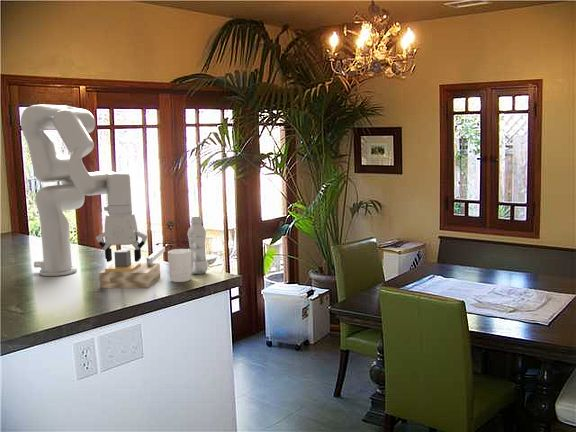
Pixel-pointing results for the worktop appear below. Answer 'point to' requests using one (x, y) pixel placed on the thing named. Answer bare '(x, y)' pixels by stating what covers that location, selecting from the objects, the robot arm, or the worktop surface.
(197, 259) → the plastic bottle
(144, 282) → the socket block
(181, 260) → the white cup
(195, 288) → the worktop surface
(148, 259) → the silver rod
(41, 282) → the worktop surface
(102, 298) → the worktop surface
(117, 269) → the plug
